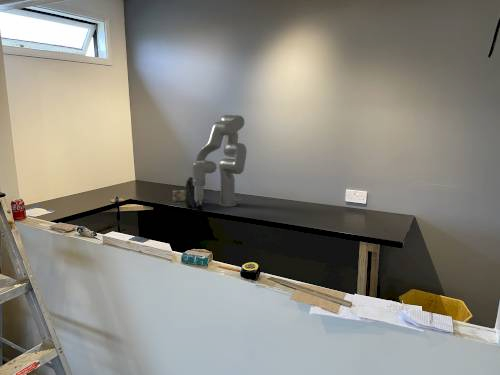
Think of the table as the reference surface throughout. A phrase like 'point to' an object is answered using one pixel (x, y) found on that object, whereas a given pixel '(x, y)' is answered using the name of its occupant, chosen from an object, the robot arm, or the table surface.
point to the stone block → (190, 194)
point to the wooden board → (179, 195)
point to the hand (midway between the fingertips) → (199, 211)
